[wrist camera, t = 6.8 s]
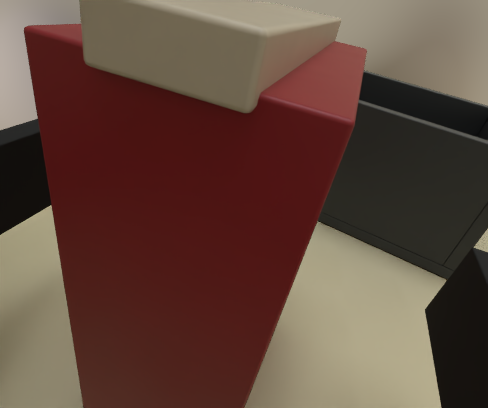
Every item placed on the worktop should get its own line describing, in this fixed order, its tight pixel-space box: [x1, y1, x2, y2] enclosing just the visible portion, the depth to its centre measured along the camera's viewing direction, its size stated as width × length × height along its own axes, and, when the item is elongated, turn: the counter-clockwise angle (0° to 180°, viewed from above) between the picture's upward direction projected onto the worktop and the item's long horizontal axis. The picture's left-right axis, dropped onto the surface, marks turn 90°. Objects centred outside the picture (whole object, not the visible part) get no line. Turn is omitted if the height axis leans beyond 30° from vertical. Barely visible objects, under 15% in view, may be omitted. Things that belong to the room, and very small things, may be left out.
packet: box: [24, 0, 367, 408], centre depth 10 cm, size 4×8×13 cm, turn 161°
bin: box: [318, 70, 488, 279], centre depth 27 cm, size 16×14×9 cm
